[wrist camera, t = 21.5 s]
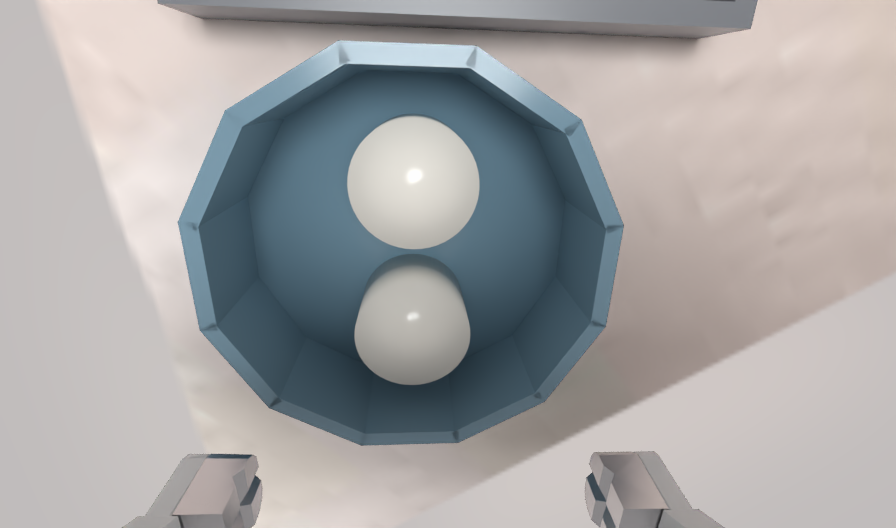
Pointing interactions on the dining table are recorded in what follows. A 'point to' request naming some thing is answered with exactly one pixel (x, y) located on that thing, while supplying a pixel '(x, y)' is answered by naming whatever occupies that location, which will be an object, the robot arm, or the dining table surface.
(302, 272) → the bowl
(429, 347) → the stone
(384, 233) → the stone
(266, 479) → the dining table surface
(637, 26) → the tray
